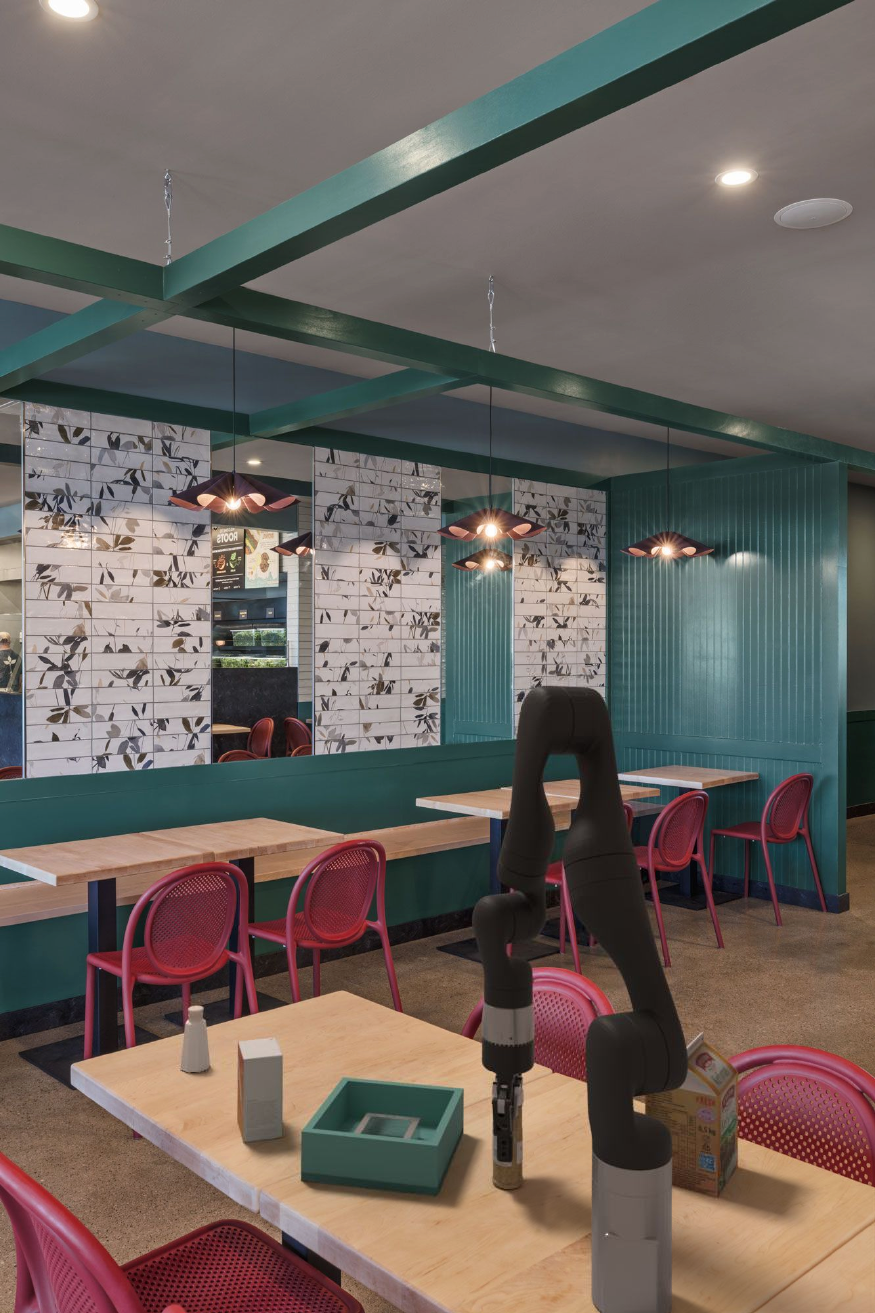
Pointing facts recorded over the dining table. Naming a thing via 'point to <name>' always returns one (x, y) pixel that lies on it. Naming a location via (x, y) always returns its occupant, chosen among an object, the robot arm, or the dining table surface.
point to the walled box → (383, 1137)
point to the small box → (260, 1089)
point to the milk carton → (701, 1121)
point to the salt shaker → (195, 1042)
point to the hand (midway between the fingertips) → (507, 1152)
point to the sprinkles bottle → (512, 1172)
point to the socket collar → (390, 1126)
